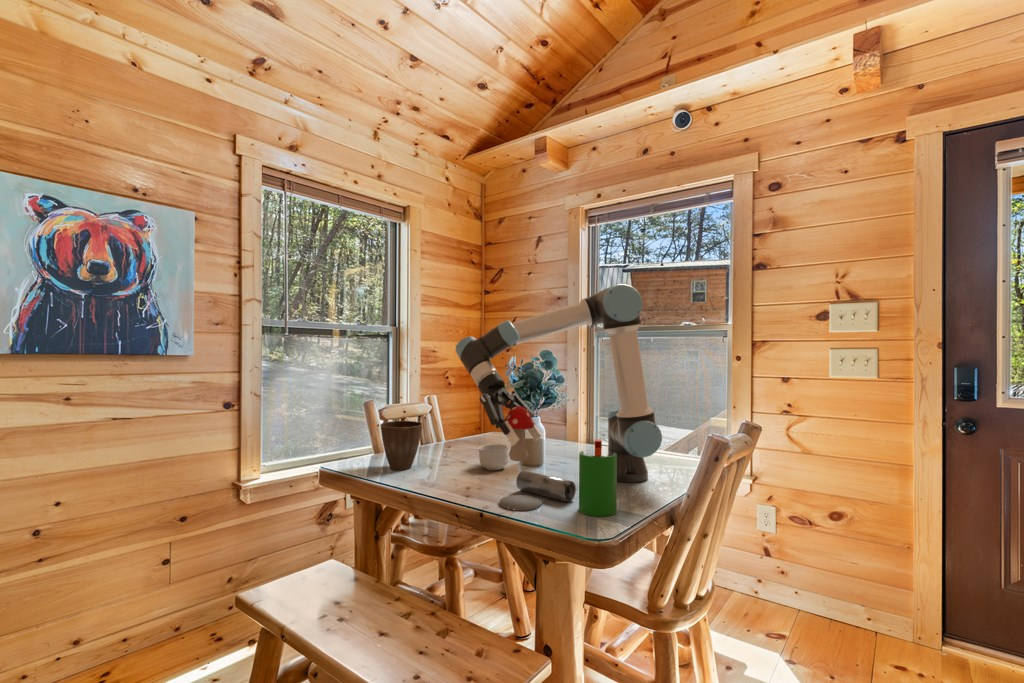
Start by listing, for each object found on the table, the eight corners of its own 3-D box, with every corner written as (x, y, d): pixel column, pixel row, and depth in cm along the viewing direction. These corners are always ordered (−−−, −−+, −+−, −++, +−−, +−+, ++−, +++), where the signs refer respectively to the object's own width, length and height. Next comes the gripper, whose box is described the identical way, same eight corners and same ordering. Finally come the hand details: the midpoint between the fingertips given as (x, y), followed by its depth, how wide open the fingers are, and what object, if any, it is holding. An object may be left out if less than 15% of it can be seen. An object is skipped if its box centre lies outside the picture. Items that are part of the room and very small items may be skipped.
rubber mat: (519, 495, 156) (519, 492, 156) (550, 503, 148) (550, 501, 148) (490, 504, 147) (490, 501, 147) (522, 513, 139) (522, 510, 139)
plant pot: (425, 463, 196) (425, 420, 196) (418, 473, 181) (418, 427, 181) (385, 463, 196) (385, 420, 196) (375, 473, 181) (375, 427, 181)
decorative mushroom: (498, 456, 151) (499, 404, 151) (526, 454, 154) (527, 403, 154) (509, 464, 142) (510, 409, 142) (538, 462, 144) (539, 408, 144)
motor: (612, 506, 147) (613, 435, 147) (620, 516, 138) (620, 441, 138) (576, 506, 146) (577, 435, 146) (582, 516, 137) (582, 441, 137)
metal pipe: (528, 487, 164) (528, 468, 164) (576, 500, 152) (576, 479, 152) (515, 491, 160) (515, 472, 160) (563, 504, 147) (564, 483, 147)
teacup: (510, 471, 185) (510, 449, 185) (480, 472, 183) (480, 449, 183) (504, 462, 198) (504, 441, 198) (476, 463, 197) (476, 442, 197)
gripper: (506, 386, 166) (544, 443, 155) (454, 390, 150) (493, 454, 139) (518, 370, 163) (558, 427, 152) (467, 373, 147) (508, 437, 136)
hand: (527, 440), depth 146 cm, fingers closed on decorative mushroom, 9 cm apart
